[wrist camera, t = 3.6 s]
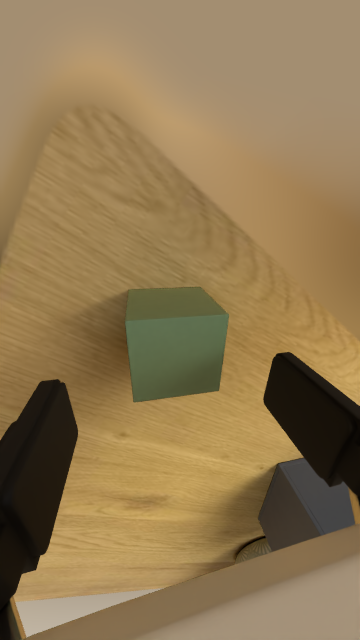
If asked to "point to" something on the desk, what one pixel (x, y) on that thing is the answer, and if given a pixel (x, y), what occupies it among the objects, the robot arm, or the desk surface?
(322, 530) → the carton
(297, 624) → the robot arm
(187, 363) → the block
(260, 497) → the desk surface
